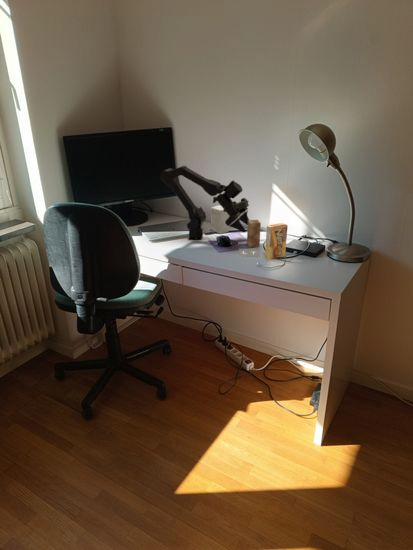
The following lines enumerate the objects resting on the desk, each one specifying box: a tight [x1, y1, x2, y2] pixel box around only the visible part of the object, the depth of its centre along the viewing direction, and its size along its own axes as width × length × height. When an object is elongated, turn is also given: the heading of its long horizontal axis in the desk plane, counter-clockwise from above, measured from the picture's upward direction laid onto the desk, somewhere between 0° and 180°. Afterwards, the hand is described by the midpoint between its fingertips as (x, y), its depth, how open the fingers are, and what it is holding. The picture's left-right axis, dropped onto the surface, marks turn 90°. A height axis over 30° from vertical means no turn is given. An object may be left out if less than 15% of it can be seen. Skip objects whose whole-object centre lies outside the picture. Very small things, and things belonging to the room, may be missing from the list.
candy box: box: [264, 222, 289, 260], centre depth 191 cm, size 9×4×15 cm, turn 116°
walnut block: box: [246, 219, 262, 248], centre depth 204 cm, size 5×5×12 cm
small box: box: [210, 204, 230, 234], centre depth 224 cm, size 8×6×13 cm
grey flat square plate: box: [237, 248, 261, 258], centre depth 198 cm, size 10×10×1 cm
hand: (247, 228), depth 204 cm, fingers open, 9 cm apart
